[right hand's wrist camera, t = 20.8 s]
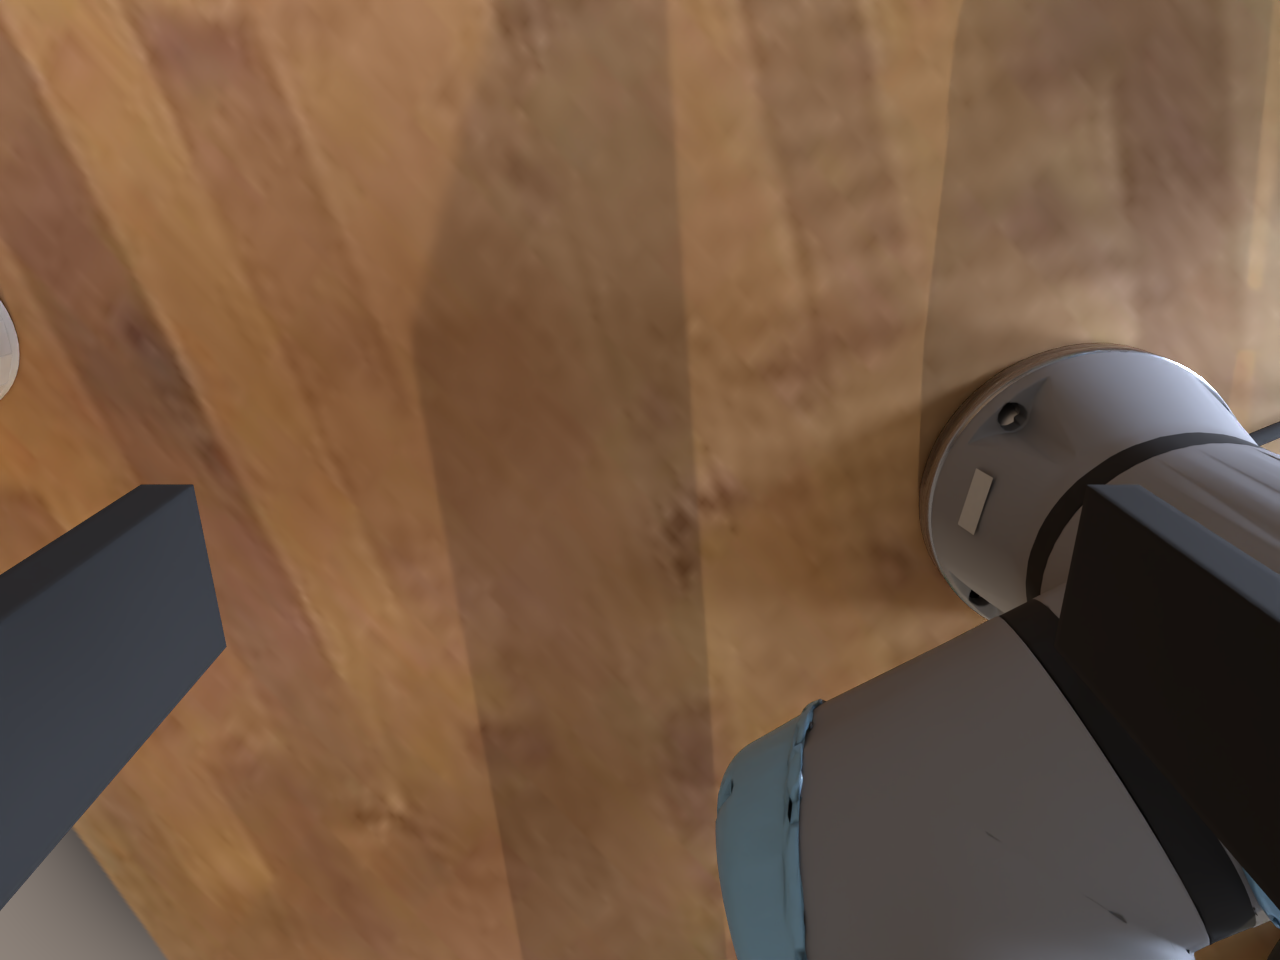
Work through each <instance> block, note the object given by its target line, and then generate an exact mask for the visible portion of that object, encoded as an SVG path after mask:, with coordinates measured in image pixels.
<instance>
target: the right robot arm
mask: <svg viewBox="0 0 1280 960" xmlns="http://www.w3.org/2000/svg"><path fill="white" fill-rule="evenodd" d="M1278 438H1280V422H1277V423H1275V424H1272V425H1270V426H1267V427H1265V428H1263V429H1260V430H1258V431H1255V432H1253V433H1250V434H1248V433H1247V432H1246V431H1245V429H1244V428H1243V427H1242V426H1241V425H1240V423H1239V422H1238V421H1237V419H1236V417H1235V416H1234V415H1233V414H1232V412H1231V410H1230V409H1229V407H1228V406H1227V404H1226V403H1225V402H1224V400H1223V399H1222V398H1221V397H1220V396H1219V394H1218V393H1217V392H1216V391H1215V390H1214V389H1213V388H1212V387H1211V386H1210V385H1209V384H1208V383H1207V382H1206V381H1205V380H1204V379H1202V378H1201V377H1200V376H1198V375H1197V374H1196V373H1194V372H1193V371H1191V370H1190V369H1188V368H1186V367H1184V366H1182V365H1180V364H1178V363H1176V362H1174V361H1171V360H1168V359H1166V358H1163V357H1161V356H1158V355H1155V354H1152V353H1150V352H1147V351H1144V350H1141V349H1138V348H1134V347H1130V346H1125V345H1118V344H1109V343H1086V344H1076V345H1069V346H1064V347H1060V348H1056V349H1051V350H1048V351H1045V352H1042V353H1039V354H1036V355H1033V356H1031V357H1029V358H1027V359H1024V360H1022V361H1020V362H1018V363H1016V364H1014V365H1012V366H1010V367H1009V368H1007V369H1005V370H1003V371H1002V372H1000V373H999V374H997V375H996V376H994V377H993V378H991V379H990V380H989V381H987V382H986V383H985V384H984V385H982V386H981V387H980V388H978V389H977V390H976V391H975V392H974V393H973V394H972V395H971V396H970V397H969V398H968V399H967V400H966V401H965V402H964V403H963V404H962V405H961V406H960V407H959V408H958V410H957V411H956V412H955V413H954V415H953V416H952V417H951V418H950V420H949V421H948V422H947V424H946V425H945V427H944V429H943V430H942V432H941V433H940V435H939V437H938V439H937V441H936V442H935V444H934V446H933V448H932V451H931V453H930V456H929V458H928V461H927V463H926V467H925V470H924V474H923V477H922V483H921V488H920V498H919V517H920V524H921V531H922V534H923V538H924V542H925V545H926V547H927V550H928V552H929V555H930V557H931V558H932V560H933V562H934V564H935V566H936V567H937V569H938V570H939V572H940V573H941V574H942V576H943V577H944V579H945V580H946V581H947V583H948V584H949V585H950V587H951V588H952V589H953V591H954V592H955V593H956V594H957V595H958V596H959V597H960V599H961V600H962V601H964V602H965V603H966V604H967V605H968V606H969V607H970V608H971V609H973V610H974V611H976V612H977V613H978V614H980V615H981V616H983V617H985V618H986V619H988V621H986V622H984V623H983V624H981V625H979V626H977V627H975V628H973V629H971V630H969V631H967V632H965V633H963V634H961V635H959V636H958V637H956V638H954V639H952V640H950V641H948V642H946V643H944V644H942V645H940V646H938V647H936V648H934V649H932V650H930V651H928V652H926V653H924V654H922V655H920V656H918V657H916V658H914V659H912V660H910V661H907V662H905V663H903V664H901V665H899V666H897V667H895V668H893V669H891V670H889V671H887V672H885V673H883V674H881V675H879V676H877V677H875V678H873V679H871V680H869V681H867V682H865V683H863V684H861V685H859V686H857V687H855V688H853V689H851V690H849V691H847V692H845V693H843V694H841V695H839V696H837V697H835V698H833V699H831V700H828V701H824V700H822V699H819V700H816V701H814V702H811V703H810V704H808V705H807V706H806V707H805V708H804V709H803V711H802V713H801V715H799V716H797V717H796V718H794V719H792V720H790V721H789V722H787V723H785V724H784V725H782V726H780V727H778V728H777V729H775V730H773V731H771V732H770V733H768V734H766V735H764V736H763V737H761V738H759V739H757V740H755V741H754V742H752V743H750V744H748V745H747V746H746V747H744V748H743V749H742V750H741V751H740V752H739V753H738V754H737V755H736V756H735V757H734V758H733V760H732V761H731V763H730V764H729V766H728V768H727V770H726V772H725V774H724V776H723V779H722V782H721V786H720V790H719V794H718V804H717V819H716V850H717V862H718V870H719V878H720V884H721V890H722V896H723V902H724V907H725V911H726V916H727V921H728V925H729V929H730V933H731V937H732V941H733V945H734V949H735V952H736V956H737V959H738V960H1195V958H1194V952H1196V951H1198V950H1200V949H1202V948H1204V947H1206V946H1208V945H1211V944H1213V943H1214V942H1217V941H1219V940H1222V939H1224V938H1227V937H1229V936H1232V935H1234V934H1237V933H1239V932H1242V931H1244V930H1247V929H1249V928H1252V927H1256V926H1259V925H1261V924H1263V923H1266V922H1268V921H1272V923H1273V924H1274V925H1275V926H1276V927H1277V928H1279V929H1280V455H1278V454H1275V453H1273V452H1271V451H1269V450H1266V449H1264V448H1262V447H1260V446H1261V445H1263V444H1266V443H1268V442H1271V441H1273V440H1276V439H1278ZM225 648H226V642H225V637H224V632H223V627H222V622H221V618H220V613H219V608H218V603H217V598H216V593H215V588H214V583H213V579H212V574H211V569H210V564H209V559H208V554H207V549H206V545H205V540H204V535H203V530H202V525H201V520H200V515H199V510H198V506H197V501H196V496H195V491H194V486H193V485H140V486H138V487H137V488H135V489H133V490H132V491H130V492H129V493H127V494H126V495H124V496H123V497H121V498H119V499H118V500H116V501H115V502H113V503H112V504H110V505H109V506H107V507H105V508H104V509H102V510H101V511H99V512H98V513H96V514H95V515H93V516H91V517H90V518H88V519H87V520H85V521H84V522H82V523H81V524H79V525H77V526H76V527H74V528H73V529H71V530H70V531H68V532H67V533H65V534H63V535H62V536H60V537H59V538H57V539H56V540H54V541H53V542H51V543H49V544H48V545H46V546H45V547H43V548H42V549H40V550H39V551H37V552H35V553H34V554H32V555H31V556H29V557H28V558H26V559H25V560H23V561H21V562H20V563H18V564H17V565H15V566H14V567H12V568H11V569H9V570H7V571H6V572H4V573H3V574H1V575H0V910H1V909H2V908H3V907H4V906H5V904H6V903H7V902H8V901H9V900H10V899H11V898H12V896H13V895H14V894H15V893H16V892H17V891H18V889H19V888H20V887H21V886H22V885H23V883H24V882H25V881H26V880H27V879H28V878H29V876H30V875H31V874H32V873H33V872H34V871H35V869H36V868H37V867H38V866H39V865H40V864H41V862H42V861H43V860H44V859H45V858H46V857H47V855H48V854H49V853H50V852H51V851H52V850H53V849H54V847H55V846H56V845H57V844H58V843H59V841H60V840H61V839H62V838H63V837H64V836H65V835H66V833H67V832H68V831H69V830H70V829H71V828H72V826H73V825H74V824H75V823H76V822H77V821H78V819H79V818H80V817H81V816H82V815H83V814H84V812H85V811H86V810H87V809H88V808H89V807H90V805H91V804H92V803H93V802H94V801H95V800H96V798H97V797H98V796H99V795H100V794H101V792H102V791H103V790H104V789H105V788H106V787H107V785H108V784H109V783H110V782H111V781H112V780H113V778H114V777H115V776H116V775H117V774H118V773H119V771H120V770H121V769H122V768H123V767H124V766H125V764H126V763H127V762H128V761H129V760H130V759H131V757H132V756H133V755H134V754H135V753H136V752H137V750H138V749H139V748H140V747H141V746H142V745H143V743H144V742H145V741H146V740H147V739H148V738H149V736H150V735H151V734H152V733H153V732H154V731H155V729H156V728H157V727H158V726H159V725H160V724H161V722H162V721H163V720H164V719H165V718H166V717H167V715H168V714H169V713H170V712H171V711H172V710H173V708H174V707H175V706H176V705H177V704H178V703H179V701H180V700H181V699H182V698H183V697H184V696H185V694H186V693H187V692H188V691H189V690H190V689H191V687H192V686H193V685H194V684H195V683H196V682H197V680H198V679H199V678H200V677H201V676H202V675H203V673H204V672H205V671H206V670H207V669H208V668H209V666H210V665H211V664H212V663H213V662H214V661H215V659H216V658H217V657H218V656H219V655H220V654H221V652H222V651H223V650H224V649H225Z"/></svg>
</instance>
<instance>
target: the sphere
mask: <svg viewBox="0 0 1280 960" xmlns="http://www.w3.org/2000/svg"><path fill="white" fill-rule="evenodd" d="M1267 960H1280V940H1279V941H1278V942H1277V944H1276V945H1275V947H1274V949H1273V950H1272V952H1271V953H1270V955H1269V957H1268V959H1267Z"/></svg>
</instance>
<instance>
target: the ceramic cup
mask: <svg viewBox="0 0 1280 960" xmlns="http://www.w3.org/2000/svg"><path fill="white" fill-rule="evenodd" d="M19 356H20V354H19V343H18V338H17V334H16V331H15V328H14V325H13V322H12V320H11V318H10V316H9V314H8V312H7V310H6V308H5V307H4V305H3V303H2V302H1V301H0V399H2V398H3V397H4V395H5V394H6V393H7V392H8V391H9V389H10V387H11V386H12V384H13V382H14V380H15V377H16V375H17V371H18V367H19Z"/></svg>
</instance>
